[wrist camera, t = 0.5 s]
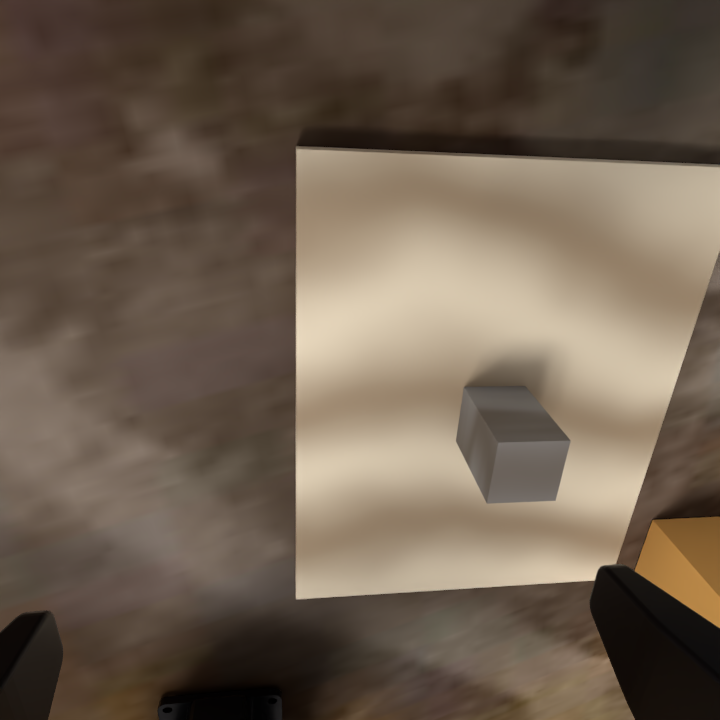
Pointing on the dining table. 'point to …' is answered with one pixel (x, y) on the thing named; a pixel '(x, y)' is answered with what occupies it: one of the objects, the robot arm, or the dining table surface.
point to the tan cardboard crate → (685, 562)
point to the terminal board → (484, 360)
